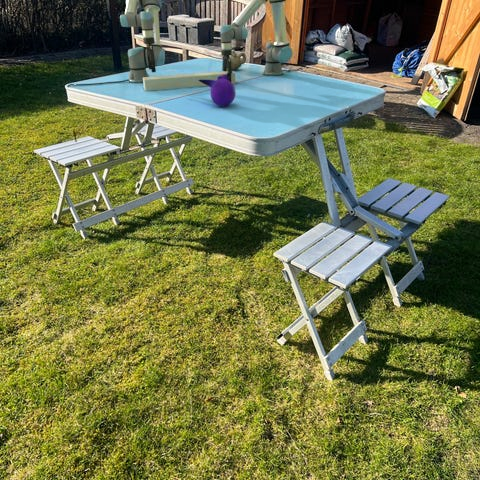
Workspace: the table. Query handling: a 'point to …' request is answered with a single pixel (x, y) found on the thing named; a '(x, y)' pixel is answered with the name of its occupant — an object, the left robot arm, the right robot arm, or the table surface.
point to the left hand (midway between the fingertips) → (152, 70)
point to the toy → (221, 90)
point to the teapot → (237, 60)
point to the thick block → (182, 80)
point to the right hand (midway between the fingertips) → (227, 82)
